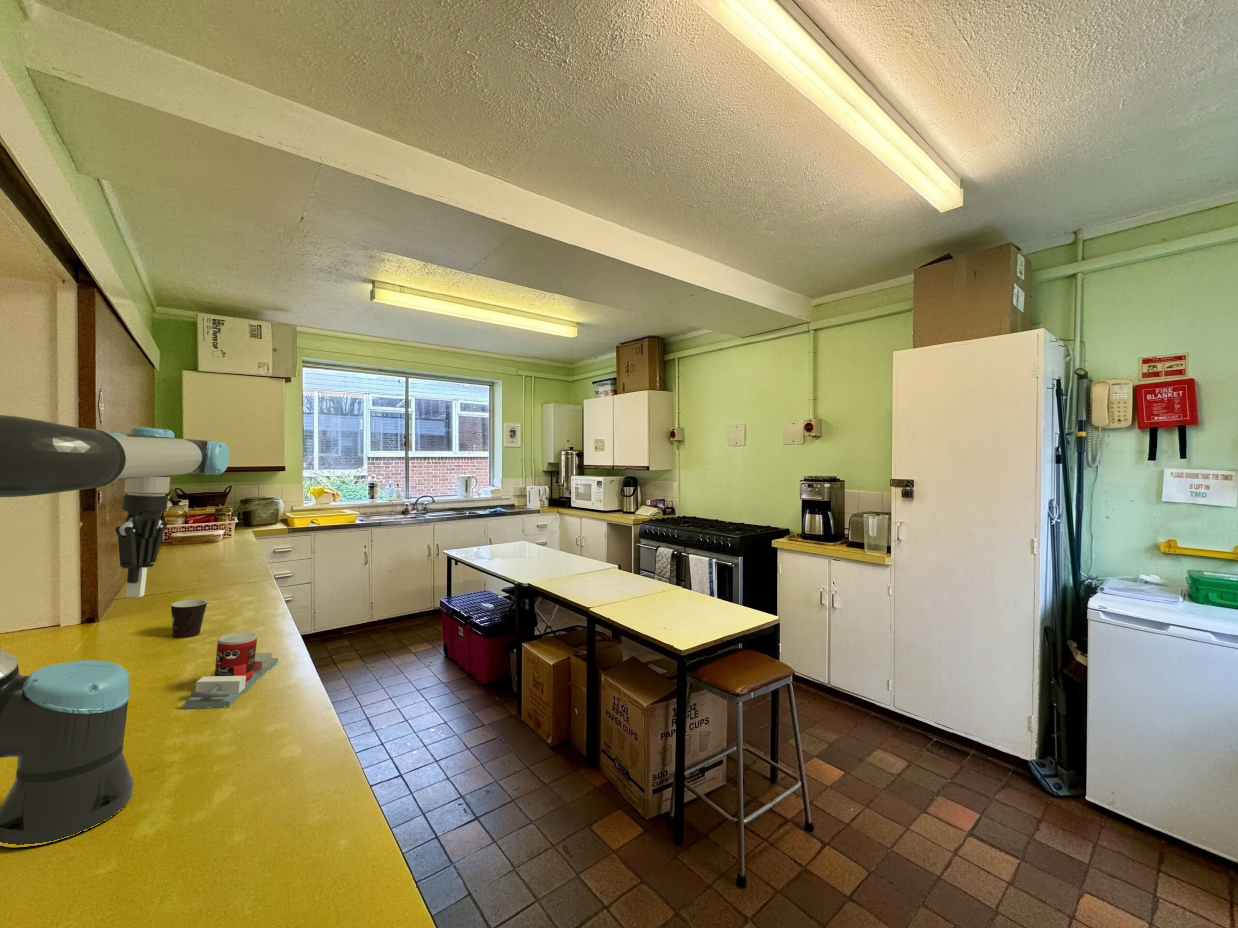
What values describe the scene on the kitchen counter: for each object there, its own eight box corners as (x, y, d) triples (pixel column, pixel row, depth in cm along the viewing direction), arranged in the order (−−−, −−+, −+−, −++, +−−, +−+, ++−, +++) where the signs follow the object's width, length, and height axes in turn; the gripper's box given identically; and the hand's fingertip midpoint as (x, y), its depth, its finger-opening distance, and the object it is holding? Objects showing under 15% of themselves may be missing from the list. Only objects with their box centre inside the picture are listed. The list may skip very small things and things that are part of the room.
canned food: (207, 680, 124) (212, 637, 124) (243, 670, 131) (247, 629, 131) (222, 689, 120) (227, 644, 120) (259, 678, 127) (263, 636, 127)
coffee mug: (174, 630, 157) (177, 599, 157) (208, 629, 160) (211, 598, 161) (158, 643, 146) (162, 610, 146) (195, 641, 150) (198, 609, 150)
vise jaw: (261, 672, 130) (262, 661, 130) (222, 673, 128) (223, 661, 128) (271, 663, 136) (272, 652, 136) (234, 663, 134) (235, 652, 134)
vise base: (228, 707, 115) (230, 688, 115) (183, 708, 113) (185, 689, 113) (277, 663, 140) (279, 647, 140) (241, 663, 138) (243, 647, 138)
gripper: (148, 491, 119) (136, 589, 118) (104, 494, 106) (91, 603, 106) (183, 494, 121) (173, 590, 120) (145, 496, 108) (132, 603, 107)
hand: (134, 596), depth 113 cm, fingers closed
